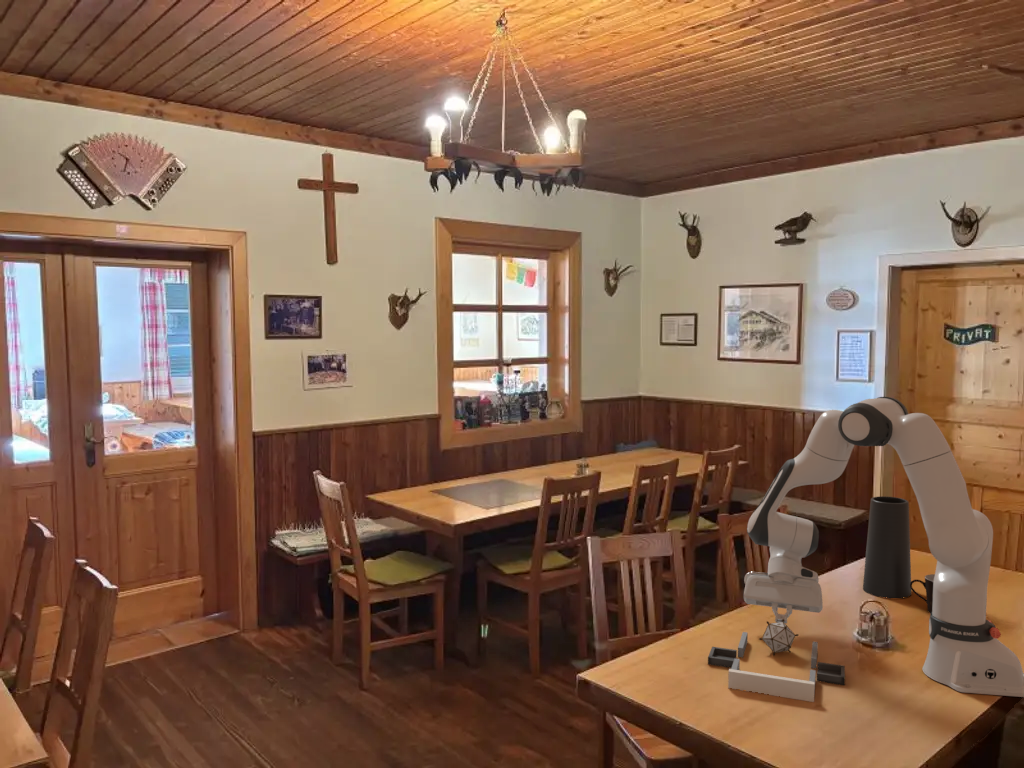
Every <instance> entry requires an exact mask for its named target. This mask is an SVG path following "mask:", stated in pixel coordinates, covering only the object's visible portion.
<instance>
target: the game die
mask: <svg viewBox="0 0 1024 768" xmlns="http://www.w3.org/2000/svg"><path fill="white" fill-rule="evenodd" d="M766 624H767V626H766V629H765V631H764V632H763V635H762V637H759V638H758V640H759V641H763V643H764V644H765V645H767V647H768V648H769V649H770V650H771V652H773V653H772V656H773V657H774V656H775V655H776V654H777V653H782V652H783V653H784V652H788V653H789V654H791V653H792V651H791V650H790V649H791V648H792V645H793V642H794V640H795V639H796V637H798V636H799V634H797V633H796V634H795V633H794V632H793V631H792V630H791V629H790V627H788V625H787V624H786V623H784V619H782V622H771V623H770V622H769V621H767V620H766Z"/></svg>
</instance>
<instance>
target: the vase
mask: <svg viewBox="0 0 1024 768" xmlns="http://www.w3.org/2000/svg"><path fill="white" fill-rule="evenodd" d="M909 505H910V503H909V501H908V499H907V500H906V499H905V498H903V497H902V498H901V497H895V496H887V495H886V496H882V495H881V496H873V497H871V498H870V504H869V513H868V514H869V515H868V525H867V527H868V528H867V538H866V548H865V550H866V551H865V559H864V560H865V561H864V569H863V570H864V571H863V582H862V590H863V591H864V592H865V593H867V594H869V595H871V596H875V597H878V598H883V597H885V598H884V599H891V598H902V599H904V598H903V597H908V596H910V595H911V596H912V590H911V588H910V583H911V581H912V574H911V573H912V569H911V563H912V562H911V538H910V537H911V535H910V532H911V531H910V506H909ZM911 596H910V597H911ZM886 597H887V598H886ZM908 598H909V597H908Z"/></svg>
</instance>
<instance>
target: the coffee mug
mask: <svg viewBox="0 0 1024 768" xmlns="http://www.w3.org/2000/svg"><path fill="white" fill-rule="evenodd" d="M934 576H935V573H934V574H933V573H932V574H926V575H924V581H922V580H920V579H913V580H911V583H910V588H911V592H913V593H914V594H915V595H916V596H917V597H919V598H920V599H921V600H923V601H924V602H925V603H926V605H927V612H928V611H929V612H930V613H931V612H932V606H933V581H934ZM916 582H918V583H920V584H922V586H923V587H924V589H925V594H926V595H925V596H926V597H923V596H922V595H921V594H920V593H918V592H916V590H915V589H914V588H913V586H912V585H913V584H914V583H916ZM929 612H928V613H929ZM930 613H929V614H930Z"/></svg>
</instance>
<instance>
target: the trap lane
mask: <svg viewBox="0 0 1024 768" xmlns="http://www.w3.org/2000/svg"><path fill="white" fill-rule="evenodd" d="M747 644H748V632H747V631H742V634H741V637H740V640H739V642H738V646H737V650H736V649H733V648H732V649H731V648H727V647H726V648H725V647H719V646H711V649H710V651H709V653H708V657H707V665H711V666H718V667H723V668H728V681H727V682H728V683H727V687H728V689H730V688H732V690H736V689H740V690H739V691H743V690H746V691H745V692H749V691H752V692H751V693H755V692H758V693H757V694H761V693H764V695H767V694H769V695H768V696H774V697H779V696H780V697H781V698H785V699H786V698H787V699H793V700H797V701H798V700H799V701H805V702H810V703H811V702H812V703H815V692H816V689H815V688H816V682H820V681H821V683H826V682H827V683H828V684H833V683H834V685H839V684H840V686H845V684H846V683H845V682H846V680H845V679H846V678H845V677H846V674H845V673H846V669H845V667H846V666H845V665H844V664H843V665H842V664H835V663H827V662H821V661H818V644H819V643H818V641H812V645H811V646H812V647H811V655H810V656H811V657H810V669H809V679H808V680H805V679H804V680H803V679H797V678H792V677H784V676H777V675H772V674H766V673H759V672H758V673H757V672H753V671H746V670H740V664H741V663H740V658H739V657H742V658H741V659H743V658H744V655H745V651H746V648H747ZM817 661H818V662H817ZM816 665H817V666H816ZM729 667H730V668H729ZM814 668H816V669H817V670H816V669H814Z"/></svg>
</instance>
